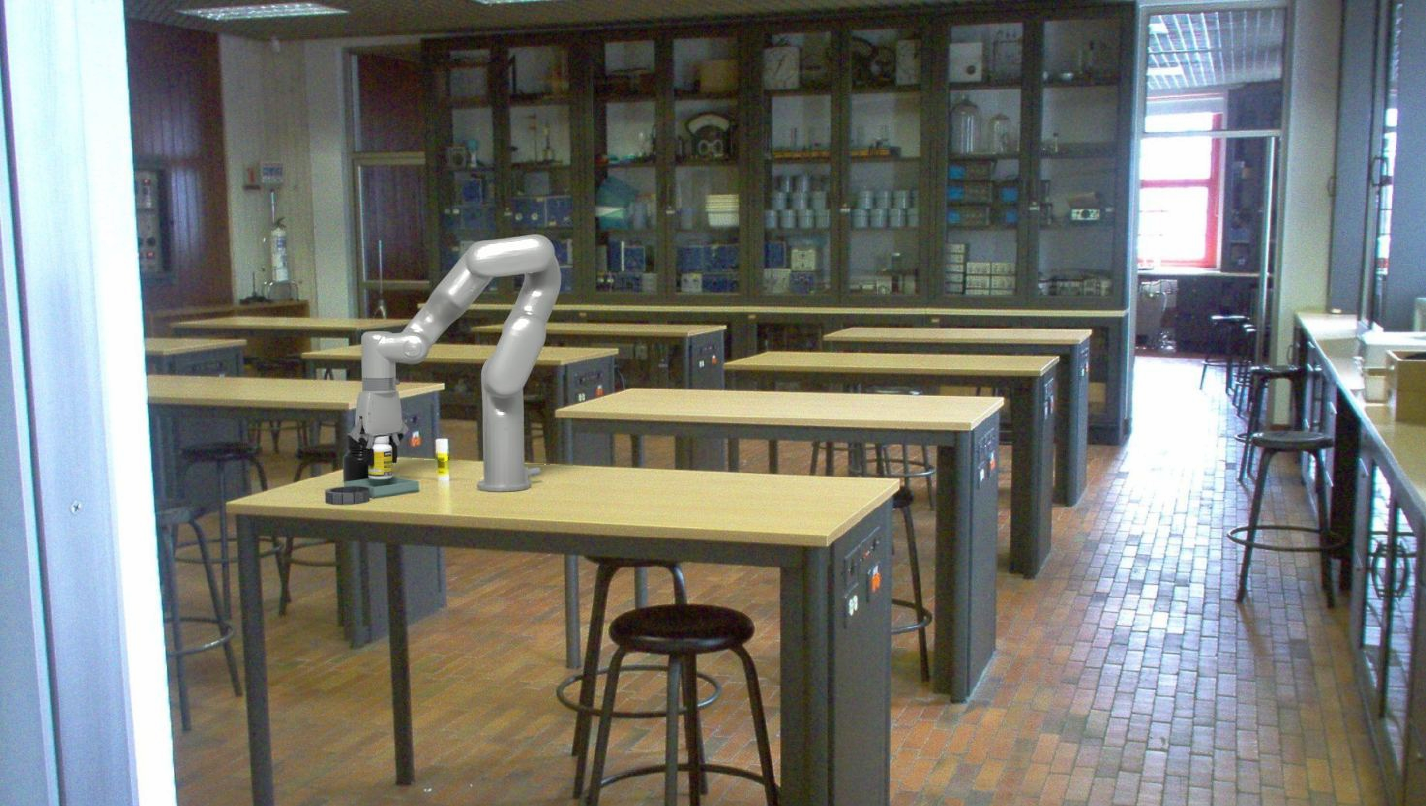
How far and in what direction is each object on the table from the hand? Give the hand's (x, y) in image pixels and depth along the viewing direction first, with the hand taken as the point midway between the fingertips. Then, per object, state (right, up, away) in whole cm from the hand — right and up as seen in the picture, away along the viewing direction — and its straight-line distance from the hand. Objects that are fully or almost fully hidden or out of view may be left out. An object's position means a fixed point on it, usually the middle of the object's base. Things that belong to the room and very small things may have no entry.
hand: (380, 463), depth 304 cm
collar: (-5, -8, -10) cm, 14 cm away
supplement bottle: (0, -4, 0) cm, 4 cm away
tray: (0, -7, +1) cm, 7 cm away
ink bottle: (-8, -6, +13) cm, 16 cm away
